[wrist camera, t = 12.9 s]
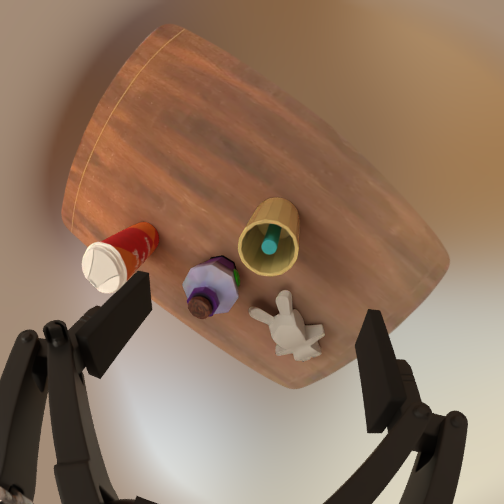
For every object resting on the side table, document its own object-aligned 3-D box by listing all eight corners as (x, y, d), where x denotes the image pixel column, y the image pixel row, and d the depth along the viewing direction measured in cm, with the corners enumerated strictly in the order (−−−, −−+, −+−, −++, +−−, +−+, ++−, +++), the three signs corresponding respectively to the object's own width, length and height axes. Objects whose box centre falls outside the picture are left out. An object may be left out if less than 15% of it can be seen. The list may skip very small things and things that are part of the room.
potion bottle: (257, 278, 48) (243, 320, 37) (218, 301, 51) (197, 343, 40) (225, 236, 47) (201, 269, 36) (187, 263, 50) (157, 299, 39)
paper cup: (149, 265, 51) (108, 305, 38) (120, 236, 50) (72, 269, 37) (173, 237, 48) (131, 274, 35) (141, 206, 47) (92, 233, 34)
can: (256, 194, 43) (240, 215, 32) (302, 201, 42) (302, 224, 31) (252, 237, 46) (236, 271, 35) (295, 243, 45) (293, 280, 34)
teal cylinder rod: (271, 213, 43) (262, 238, 33) (283, 215, 43) (278, 241, 33) (270, 225, 44) (260, 253, 34) (282, 227, 44) (276, 255, 34)
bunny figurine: (289, 373, 50) (239, 323, 45) (289, 353, 55) (243, 303, 50) (336, 354, 47) (291, 297, 42) (333, 334, 52) (290, 278, 47)
